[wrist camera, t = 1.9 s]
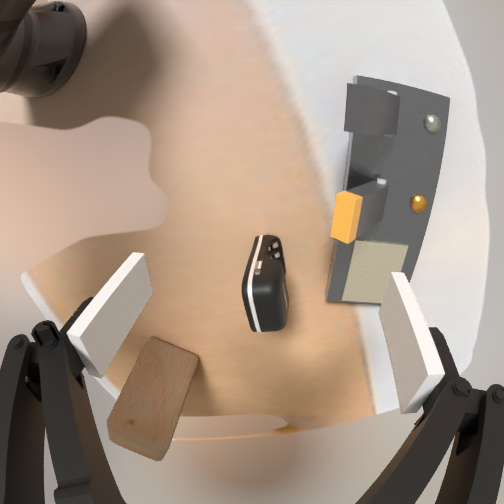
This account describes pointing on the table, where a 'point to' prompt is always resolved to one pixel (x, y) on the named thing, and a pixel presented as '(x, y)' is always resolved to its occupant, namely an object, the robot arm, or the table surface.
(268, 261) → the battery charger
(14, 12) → the robot arm
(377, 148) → the panel
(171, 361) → the wooden block
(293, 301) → the table surface
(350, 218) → the lever
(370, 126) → the lever
